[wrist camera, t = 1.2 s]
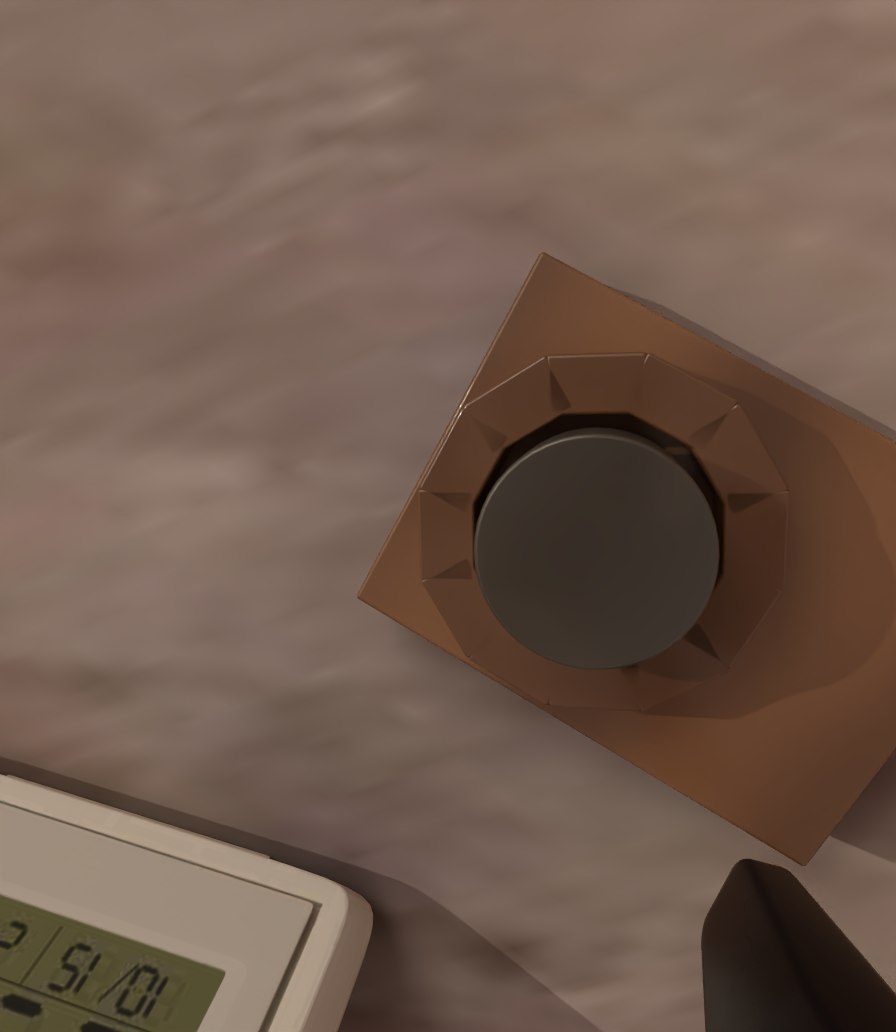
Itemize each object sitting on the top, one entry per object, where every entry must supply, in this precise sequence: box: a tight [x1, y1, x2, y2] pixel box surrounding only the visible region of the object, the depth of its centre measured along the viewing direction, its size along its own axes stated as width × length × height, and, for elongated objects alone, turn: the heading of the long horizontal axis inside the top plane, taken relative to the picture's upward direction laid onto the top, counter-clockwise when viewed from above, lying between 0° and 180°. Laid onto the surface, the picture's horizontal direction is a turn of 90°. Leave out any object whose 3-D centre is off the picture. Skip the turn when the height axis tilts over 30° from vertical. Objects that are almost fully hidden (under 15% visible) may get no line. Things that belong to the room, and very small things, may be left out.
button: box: [474, 427, 720, 670], centre depth 16 cm, size 4×4×2 cm
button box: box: [357, 253, 896, 866], centre depth 18 cm, size 12×9×4 cm
